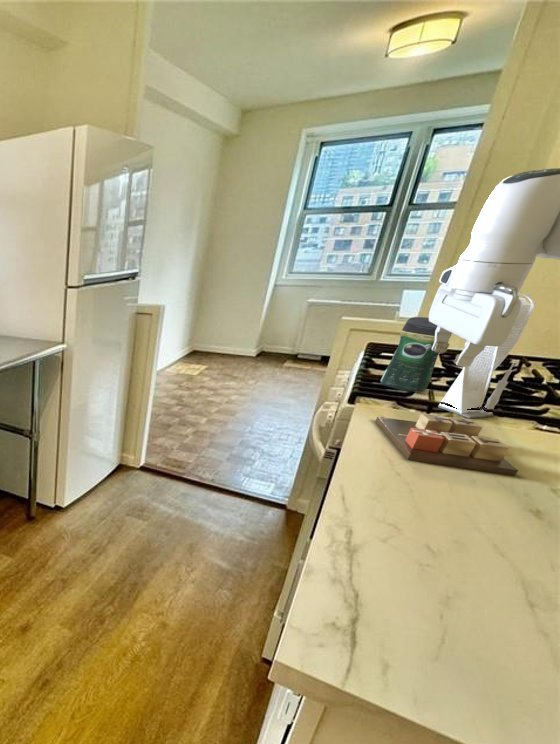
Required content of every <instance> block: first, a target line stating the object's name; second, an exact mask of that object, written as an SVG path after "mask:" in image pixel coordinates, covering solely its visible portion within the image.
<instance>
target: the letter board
mask: <svg viewBox="0 0 560 744" xmlns="http://www.w3.org/2000/svg"><path fill="white" fill-rule="evenodd" d="M375 423H376V424H377V425H378V426H379V428H380V429H381V430H382V431H383V432H384V433H385V435H386V436H387V437H388V438H389V440H390V441H391V442H392V443H393V444H394V445H395V446H396V448H397V449H398V450H399V451H400V452H401V453H402V455H403V456H404V457H405V458H406V460H408V461H415V462H422V463H428V464H434V465H441V466H447V467H454V468H455V467H456V468H461V469H469V470H475V471H480V472H487V473H494V474H499V475H507V476H513V477H514V476H516V475H517V473H518V472H519V469H518V468H516V467H515V466H514V465H512V464H511V463H510V462H509V461H507V460H506V458H503V459H502V461H501V462H500V461H493V460H486V459H479V458H474V457H473V456H472V455H471V454H470V455H469V457H466V456H459V455H452V454H445V453H442V452H441V451H440V450H438V452H432V451H425V450H418V449H412V448H411V447H410V446H409V445H408V443H407V442H406V441H405V439H406V437H407V435H408V433H409V431H410V429H411V428H417V427H416V426H415V425H416V423H417V421H413V420H405V419H397V418H392V417H391V418H390V417H381V416H377V417H376V419H375Z"/></svg>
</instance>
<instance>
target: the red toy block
mask: <svg viewBox="0 0 560 744" xmlns="http://www.w3.org/2000/svg"><path fill="white" fill-rule="evenodd" d="M441 435H442V434H438V433H437V432H436V431H433V430H425V429H418V428H411V429H410V431H409V433H408V435H407V437H406V439H405V441H406V442H407V443H408V445H409V446H410V447H411V448H412V449H418V450H425V451H432V452H438V450H439V448H440V446H441V444H442V442H443V440H444V438H443V437H442V436H443V435H442V436H441Z"/></svg>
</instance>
